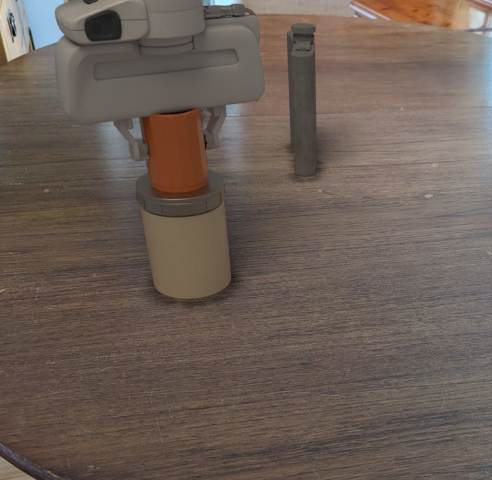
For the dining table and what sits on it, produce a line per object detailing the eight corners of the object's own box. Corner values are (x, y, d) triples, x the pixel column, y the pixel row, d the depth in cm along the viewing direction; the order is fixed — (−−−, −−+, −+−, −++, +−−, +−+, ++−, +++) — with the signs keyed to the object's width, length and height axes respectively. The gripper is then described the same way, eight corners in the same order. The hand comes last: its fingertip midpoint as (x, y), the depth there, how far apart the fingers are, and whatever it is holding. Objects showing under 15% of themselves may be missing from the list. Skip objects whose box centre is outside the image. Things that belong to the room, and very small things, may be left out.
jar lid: (154, 223, 74) (151, 205, 73) (127, 190, 81) (124, 174, 79) (238, 205, 79) (236, 189, 77) (206, 176, 85) (204, 160, 84)
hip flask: (290, 140, 124) (285, 12, 112) (314, 140, 125) (311, 13, 113) (295, 176, 112) (290, 37, 100) (321, 176, 112) (319, 37, 100)
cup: (161, 197, 75) (149, 119, 70) (142, 176, 79) (129, 101, 74) (217, 186, 78) (209, 110, 73) (196, 167, 82) (187, 94, 77)
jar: (168, 306, 81) (153, 210, 74) (143, 271, 87) (126, 179, 80) (243, 287, 85) (235, 194, 78) (214, 255, 91) (204, 166, 84)
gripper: (244, -4, 75) (254, 129, 83) (35, 10, 66) (69, 159, 74) (271, 8, 71) (278, 147, 79) (51, 25, 62) (86, 180, 70)
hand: (175, 153), depth 77 cm, fingers closed on cup, 6 cm apart
